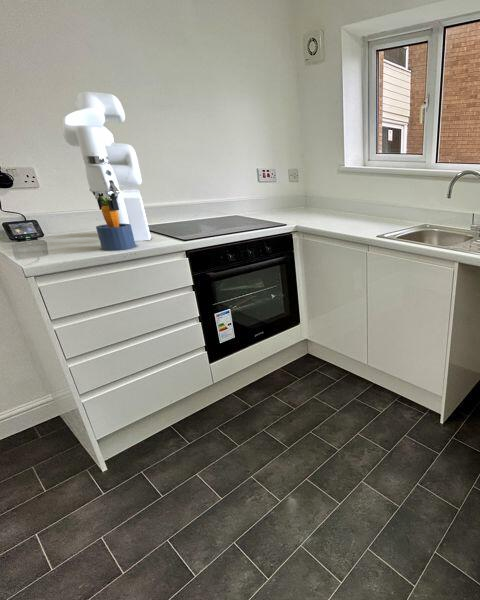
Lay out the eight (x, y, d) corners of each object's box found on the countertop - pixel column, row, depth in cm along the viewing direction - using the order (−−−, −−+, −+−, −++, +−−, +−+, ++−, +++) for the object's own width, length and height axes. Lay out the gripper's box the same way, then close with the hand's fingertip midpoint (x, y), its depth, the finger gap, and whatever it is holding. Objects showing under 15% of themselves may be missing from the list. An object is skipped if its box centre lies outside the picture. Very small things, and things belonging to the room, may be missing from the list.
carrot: (126, 233, 146) (116, 195, 141) (116, 235, 142) (106, 196, 136) (115, 232, 147) (105, 195, 141) (104, 234, 142) (94, 196, 136)
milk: (149, 240, 160) (138, 190, 152) (133, 241, 157) (121, 190, 149) (151, 237, 165) (140, 189, 157) (135, 238, 162) (123, 189, 154)
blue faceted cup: (122, 243, 153) (117, 222, 149) (142, 246, 150) (137, 224, 146) (95, 248, 143) (88, 226, 139) (115, 251, 140) (109, 229, 136)
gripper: (123, 162, 135) (134, 210, 142) (91, 160, 139) (103, 207, 146) (102, 162, 128) (115, 212, 135) (69, 160, 133) (84, 209, 139)
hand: (109, 209), depth 141 cm, fingers closed on carrot, 4 cm apart
